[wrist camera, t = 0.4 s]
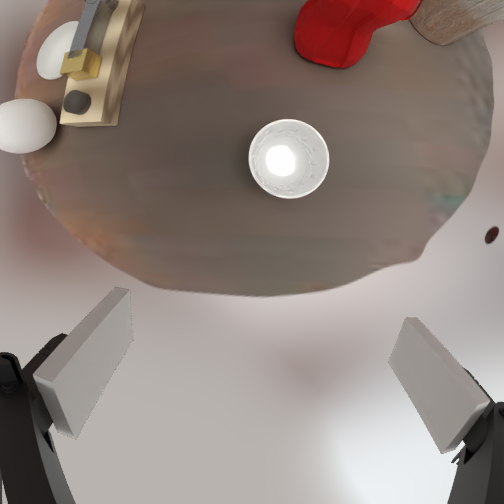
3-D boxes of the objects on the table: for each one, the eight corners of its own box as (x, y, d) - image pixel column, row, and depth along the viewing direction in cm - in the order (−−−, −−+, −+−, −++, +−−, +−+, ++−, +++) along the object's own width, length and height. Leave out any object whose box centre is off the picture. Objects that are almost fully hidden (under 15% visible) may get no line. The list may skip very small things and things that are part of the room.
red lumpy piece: (366, 79, 33) (479, 8, 9) (289, 60, 33) (336, -59, 9) (369, 29, 31) (459, -58, 7) (297, 9, 30) (337, -110, 6)
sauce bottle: (35, 110, 33) (-44, 101, 16) (69, 100, 33) (-11, 80, 16) (33, 156, 35) (-49, 162, 18) (67, 149, 36) (-19, 149, 18)
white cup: (254, 194, 38) (255, 203, 28) (245, 135, 36) (242, 124, 26) (313, 187, 38) (333, 193, 28) (305, 128, 35) (323, 115, 26)
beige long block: (105, 13, 29) (85, -6, 22) (144, 7, 29) (128, -16, 22) (78, 126, 35) (49, 122, 27) (117, 125, 35) (91, 118, 28)
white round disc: (48, 29, 29) (46, 28, 28) (97, 17, 29) (95, 15, 29) (32, 84, 32) (30, 83, 31) (80, 75, 32) (78, 74, 32)
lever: (100, -1, 24) (87, -13, 20) (121, -5, 24) (110, -18, 20) (75, 80, 28) (58, 73, 24) (97, 77, 28) (80, 69, 24)
